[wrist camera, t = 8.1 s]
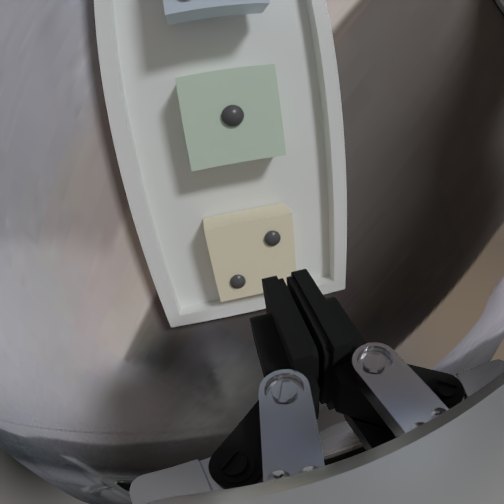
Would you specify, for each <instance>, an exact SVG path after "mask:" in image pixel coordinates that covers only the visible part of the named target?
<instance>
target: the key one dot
mask: <svg viewBox="0 0 504 504" xmlns="http://www.w3.org/2000/svg"><path fill="white" fill-rule="evenodd" d="M175 81H176V87H177V94H178V99H179V105H180V111H181V117H182V123H183V128H184V134H185V139H186V144H187V150H188V155H189V160H190V165H191V170H192V171H197V170H202V169H207V168H212V167H217V166H222V165H228V164H233V163H239V162H245V161H251V160H257V159H263V158H270V157H277V156H284V155H286V148H285V139H284V131H283V123H282V114H281V107H280V99H279V91H278V84H277V77H276V70H275V64H268V65H256V66H246V67H237V68H229V69H222V70H215V71H209V72H203V73H198V74H192V75H187V76H182V77H177V78H175Z"/></svg>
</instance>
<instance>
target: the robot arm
mask: <svg viewBox="0 0 504 504" xmlns="http://www.w3.org/2000/svg"><path fill="white" fill-rule="evenodd" d="M495 2H496V3H497V5H498V7H499V8H500V9H501V11H502V12H503V14H504V0H495ZM262 286H263V293H264V299H265V305H266V312H267V314H265V315H261V316H256V317H252V318H250V322H251V327H252V332H253V336H254V341H255V345H256V349H257V353H258V356H259V360H260V364H261V367H262V371H263V375H264V379H263V380H262V382H261V383H260V385H259V400H258V401H257V403H256V404H255V405H254V406H253V408H252V409H251V410H250V411H249V413H248V414H247V415H246V416H245V417H244V419H243V420H242V421H241V422H240V423H239V425H238V426H237V427H236V428H235V429H234V431H233V432H232V433H231V434H230V435H229V436H228V438H227V439H226V440H225V441H224V442H223V443H222V444H221V446H220V447H219V448H218V449H217V450H216V451H215V452H214V454H213V455H212V457H210V458H207V459H204V460H201V461H199V460H198V459H197V460H194V461H190V462H187V463H184V464H181V465H177V466H174V467H171V468H167V469H163V470H160V471H156V472H152V473H148V474H144V475H141V476H139V477H137V478H136V479H135V480H134V481H133V482H132V484H131V487H130V496H131V500H132V504H504V361H503V360H493V361H490V362H487V363H484V364H481V365H478V366H475V367H472V368H469V369H466V370H463V371H460V372H457V374H456V375H455V376H453V375H450V374H448V373H443V372H439V371H434V370H430V369H426V368H422V367H417V366H413V365H409V364H406V363H405V362H404V360H403V359H401V357H400V356H399V355H398V354H397V353H396V352H395V351H394V350H393V349H392V348H390V347H389V346H387V345H385V344H382V343H376V342H374V343H367V344H366V343H365V342H364V340H363V338H362V337H361V335H360V334H359V332H358V331H357V329H356V328H355V326H354V325H353V323H352V322H351V320H350V319H349V317H348V316H347V314H346V313H345V311H344V310H343V308H342V307H341V305H340V304H339V302H338V301H337V299H336V298H334V297H331V298H328V299H325V297H324V296H323V294H322V292H321V291H320V289H319V288H318V286H317V285H316V283H315V281H314V280H313V278H312V277H311V275H310V274H309V272H308V271H307V269H302V270H298V271H293V272H291V276H289V277H287V285H286V283H285V281H284V279H283V278H281V279H278V278H277V276H272V277H268V278H263V279H262ZM319 401H320V403H321V404H324V403H326V404H327V407H328V409H329V410H331V409H334V408H335V410H336V411H337V412H339V413H342V414H344V417H345V419H346V421H347V423H348V424H349V426H350V427H351V428H352V430H353V431H354V433H355V434H356V436H357V437H358V439H359V440H360V442H361V443H362V445H363V446H364V447H365V449H366V450H367V451H365V452H363V453H360V454H358V455H355V456H352V457H350V458H347V459H344V460H341V461H338V462H336V463H333V464H330V465H327V466H325V465H324V459H323V453H322V448H321V442H320V436H319V431H318V426H317V419H318V414H319Z"/></svg>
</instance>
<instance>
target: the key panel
mask: <svg viewBox="0 0 504 504" xmlns="http://www.w3.org/2000/svg"><path fill="white" fill-rule="evenodd" d="M94 12H95V25H96V37H97V46H98V55H99V63H100V71H101V78H102V84H103V90H104V97H105V102H106V108H107V113H108V119H109V124H110V129H111V134H112V138H113V143H114V147H115V152H116V156H117V160H118V165H119V169H120V173H121V177H122V181H123V185H124V188H125V192H126V196H127V199H128V203H129V207H130V210H131V214H132V217H133V220H134V224H135V227H136V230H137V234H138V237H139V240H140V243H141V246H142V249H143V252H144V255H145V258H146V261H147V264H148V267H149V270H150V273H151V276H152V279H153V282H154V284H155V287H156V290H157V293H158V295H159V298H160V301H161V303H162V306H163V308H164V311H165V314H166V316H167V319H168V321H169V324H170V326H171V327H177V326H182V325H188V324H193V323H198V322H204V321H209V320H214V319H219V318H224V317H229V316H233V315H238V314H243V313H248V312H252V311H257V310H261V309H266V305H265V299H264V293H261V294H256V295H252V296H247V297H243V298H238V299H233V300H228V301H223V302H221V300H220V296H219V292H218V288H217V284H216V280H215V276H214V271H213V267H212V263H211V259H210V254H209V250H208V246H207V241H206V237H205V232H204V223H203V218H207V217H212V216H217V215H222V214H227V213H232V212H237V211H242V210H247V209H253V208H258V207H263V206H269V205H274V204H280V203H284V204H285V206H286V207H287V208H288V209H289V210H290V211H291V212H292V219H293V231H294V244H295V258H296V271H298V270H302V269H307V271H308V272H309V274H310V275H311V277H312V278H313V280H314V281H315V283H316V285H317V286H318V288H319V289H320V291H321V292H322V294H323V295H324V294H328V293H332V292H335V291H339V290H343V289H345V279H346V250H347V191H346V163H345V144H344V129H343V117H342V106H341V96H340V87H339V78H338V70H337V63H336V55H335V49H334V42H333V36H332V30H331V24H330V19H329V14H328V8H327V3H326V0H270V4H269V5H268V6H267V7H266V9H265V10H264V11H263V13H258V14H242V15H231V16H221V17H213V18H206V19H199V20H193V21H187V22H182V23H176V24H172V25H168V23H167V20H166V17H165V12H164V4H163V0H94ZM268 64H275V70H276V77H277V84H278V91H279V99H280V107H281V114H282V123H283V131H284V139H285V148H286V155H284V156H277V157H270V158H263V159H257V160H251V161H245V162H239V163H233V164H228V165H222V166H217V167H212V168H207V169H202V170H197V171H192V170H191V165H190V160H189V155H188V150H187V144H186V139H185V134H184V128H183V123H182V117H181V111H180V105H179V99H178V94H177V87H176V81H175V78H177V77H182V76H187V75H192V74H198V73H203V72H209V71H215V70H222V69H229V68H237V67H246V66H256V65H268Z"/></svg>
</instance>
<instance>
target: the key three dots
mask: <svg viewBox="0 0 504 504" xmlns="http://www.w3.org/2000/svg"><path fill="white" fill-rule="evenodd" d="M163 4H164V12H165V17H166V20H167V23H168V25H172V24H176V23H182V22H187V21H193V20H199V19H206V18H213V17H221V16H231V15H242V14H258V13H263V11H264V10H265V9H266V7H267V6H268V5H269V4H270V0H163Z"/></svg>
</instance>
